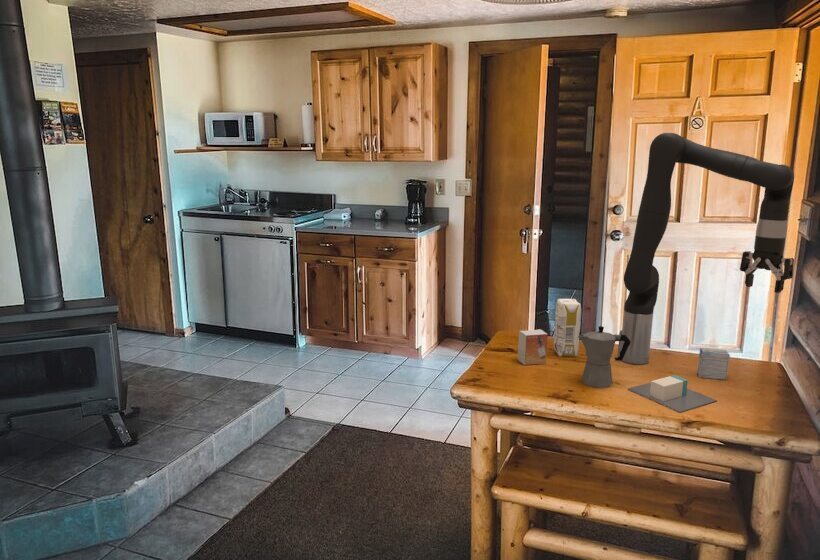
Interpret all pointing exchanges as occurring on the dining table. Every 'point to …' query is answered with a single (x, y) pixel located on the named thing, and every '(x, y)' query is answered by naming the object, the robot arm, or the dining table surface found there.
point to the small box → (532, 347)
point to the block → (668, 388)
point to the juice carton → (567, 327)
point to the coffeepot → (600, 356)
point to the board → (678, 403)
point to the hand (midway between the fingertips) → (763, 289)
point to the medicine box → (713, 363)
